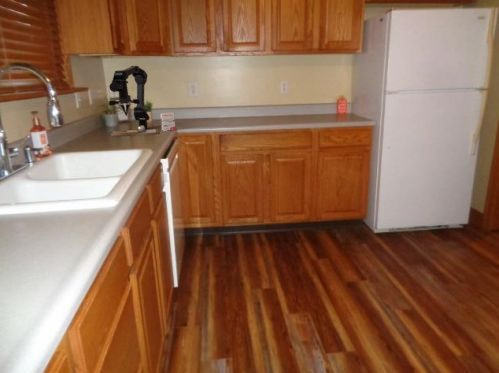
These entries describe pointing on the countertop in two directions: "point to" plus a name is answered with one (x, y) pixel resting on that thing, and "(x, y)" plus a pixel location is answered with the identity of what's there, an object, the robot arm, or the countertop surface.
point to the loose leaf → (134, 130)
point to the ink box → (167, 121)
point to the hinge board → (141, 132)
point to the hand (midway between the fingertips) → (126, 115)
